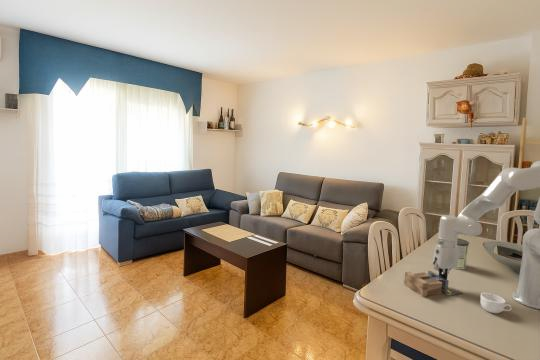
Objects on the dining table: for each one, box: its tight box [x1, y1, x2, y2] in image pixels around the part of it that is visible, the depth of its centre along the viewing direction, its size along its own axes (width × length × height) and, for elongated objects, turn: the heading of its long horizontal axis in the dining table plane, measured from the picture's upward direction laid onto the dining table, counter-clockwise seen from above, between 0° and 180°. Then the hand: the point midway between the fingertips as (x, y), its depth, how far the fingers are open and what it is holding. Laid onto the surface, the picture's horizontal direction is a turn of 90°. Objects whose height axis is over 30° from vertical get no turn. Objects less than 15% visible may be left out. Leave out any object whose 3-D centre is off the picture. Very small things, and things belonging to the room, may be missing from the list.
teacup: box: [479, 292, 513, 314], centre depth 115 cm, size 10×8×5 cm
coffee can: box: [453, 237, 470, 270], centre depth 158 cm, size 10×10×14 cm
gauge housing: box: [403, 271, 463, 298], centre depth 131 cm, size 13×20×6 cm, turn 106°
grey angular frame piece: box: [423, 270, 452, 293], centre depth 131 cm, size 12×10×5 cm
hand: (442, 280), depth 134 cm, fingers closed
